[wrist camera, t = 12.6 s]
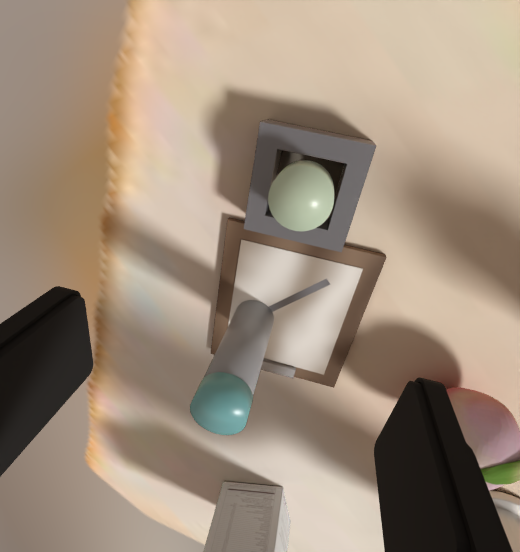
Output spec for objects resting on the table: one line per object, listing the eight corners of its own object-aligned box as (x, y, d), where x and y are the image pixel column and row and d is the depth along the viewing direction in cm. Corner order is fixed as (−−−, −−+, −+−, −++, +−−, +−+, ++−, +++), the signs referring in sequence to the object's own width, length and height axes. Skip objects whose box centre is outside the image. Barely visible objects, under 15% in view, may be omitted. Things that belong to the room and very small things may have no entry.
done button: (341, 167, 23) (342, 174, 21) (325, 225, 25) (324, 237, 23) (280, 154, 24) (274, 159, 21) (269, 212, 26) (263, 223, 24)
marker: (278, 305, 32) (250, 403, 22) (270, 337, 34) (242, 441, 24) (237, 295, 33) (192, 386, 22) (232, 327, 35) (188, 425, 24)
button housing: (372, 140, 25) (376, 145, 22) (341, 238, 29) (341, 252, 26) (267, 119, 25) (260, 121, 23) (251, 217, 29) (243, 229, 27)
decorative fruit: (412, 429, 37) (435, 529, 29) (385, 378, 35) (402, 470, 26) (507, 413, 34) (566, 522, 25) (485, 354, 31) (543, 452, 22)
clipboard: (385, 254, 28) (387, 259, 28) (333, 383, 36) (333, 391, 35) (229, 217, 30) (225, 221, 29) (212, 349, 38) (209, 356, 37)
